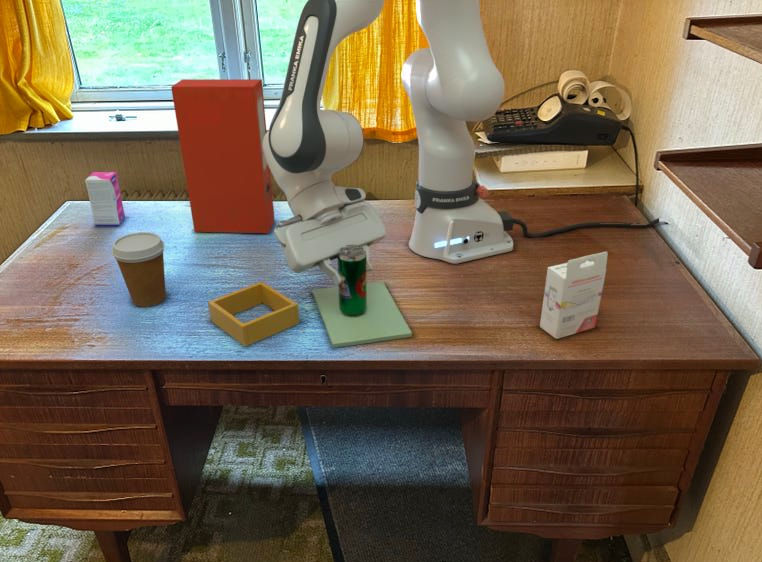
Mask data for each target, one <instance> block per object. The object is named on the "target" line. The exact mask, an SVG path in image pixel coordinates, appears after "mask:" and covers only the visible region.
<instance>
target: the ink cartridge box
mask: <svg viewBox="0 0 762 562" xmlns="http://www.w3.org/2000/svg"><path fill="white" fill-rule="evenodd" d="M608 253H609V251H602V252H598V253H593V254H588V255H584V256H581V257H577V258H574V259H569V260H568V261H567V262H564V263H559V264H556V265H551V266H548V267H547V270H546V277H545V286H544V293H543V299H542V300H543V301H542V305H541V306H542V307H541V315H540V322H539V328H541V329H542V330H544V332H546V333H547V334H548V335H550V336H551V337H553V338H554V339H556V340H559V339H561V338H565V337H568V336H572V335H575V334H579V333H582V332H585V331H589V330H592V329H595V328H596V325H597V319H598V314H599V310H600V305H601V299H602V294H603V289H604V284H605V279H606V274H607V264H608V256H609V255H608Z"/></svg>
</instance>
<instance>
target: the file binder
mask: <svg viewBox="0 0 762 562" xmlns="http://www.w3.org/2000/svg"><path fill="white" fill-rule="evenodd" d="M170 89H171V95H172V101H173V106H174V114H175V119H176V125H177V132H178V138H179V145H180V150H181V156H182V157H181V158H182V164H183V170H184V175H185V181H186V187H187V193H188V201H189V206H190V213H191V218H192V225H193V231H194V232H195V233H196V232H197V233H234V234H235V233H237V234H240V233H241V234H269V232H270V231H271V229H272V227H273V225H274V224H275V210H274V199H273V187H272V177H271V175H272V174H271V171H270V169H269V166H268V164H267V161H266V159H265V156H264V152H263V139H264V136H265V135H266V133H267V132H268V130H267V123H266V109H265V99H264V90H263V89H264V87H263V79H262V78H259V79H257V78H256V79H255V78H254V79H250V78H249V79H247V78H246V79H245V78H242V79H240V78H239V79H237V78H236V79H235V78H233V79H232V78H231V79H229V78H228V79H227V78H226V79H221V78H218V79H215V78H214V79H213V78H212V79H210V78H209V79H208V78H207V79H206V78H204V79H201V78H200V79H198V78H194V79H193V78H192V79H189V78H188V79H184V78H183V79H181V80H179V81H177V82H176V83H175V84H173V85H172V86H171V87H170Z"/></svg>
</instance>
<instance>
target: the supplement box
mask: <svg viewBox="0 0 762 562" xmlns="http://www.w3.org/2000/svg"><path fill="white" fill-rule="evenodd" d="M84 181H85V186H86V191H87V195H88V199H89V203H90V208H91V212H92V217H93V221H94V226H95V227H96V228H101V227H102V228H103V227H105V228H106V227H109V228H113V227H119V226H120V225H121V223H122V222H123V221H124V220H125V218H126V214H125V209H124V205H123V199H122V195H121V194H122V193H121V190H120V185H119V180H118V175H117V172H115V171H105V172H104V171H99V172H98V171H93V172H92V173H91V174H89V176H88V177H86V179H84Z"/></svg>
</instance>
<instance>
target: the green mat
mask: <svg viewBox="0 0 762 562" xmlns="http://www.w3.org/2000/svg"><path fill="white" fill-rule="evenodd" d="M312 295H313V299H314V301H315V303H316V306H317V309H318V312H319V314H320V318H321V320H322V322H323V325H324V328H325V330H326V333H327V336H328V338H329V339H328V340H329V341H330V344H331V347H332V348H333V349H337V348H342V347H343V348H344V347H349V346H357V345H358V346H359V345H365V344H370V343H371V344H373V343H377V342H379V343H380V342H387V341H393V340H399V339H406V338H412V337H413V332H412V330H411V329H410V327H409V325H408V323H407V322H406V319H405V318H404V316H403V315H402V313H401V311H400V310H399V307H398V305H397V304H396V302H395V300H394V299H393V297H392V295H391V293H390V292H389V290H388V288H387V286H386V284H385V282H384V281H383V280H380V281H379V280H377V281H371V282H367V309H366V310H365V311H364V312H363V313H362V314H360V315H356V316H350V315H346V314H344V313H342V312H341V311H340V309H339V290H338V286H332V287H324V288H323V287H322V288H315V289H312Z"/></svg>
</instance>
